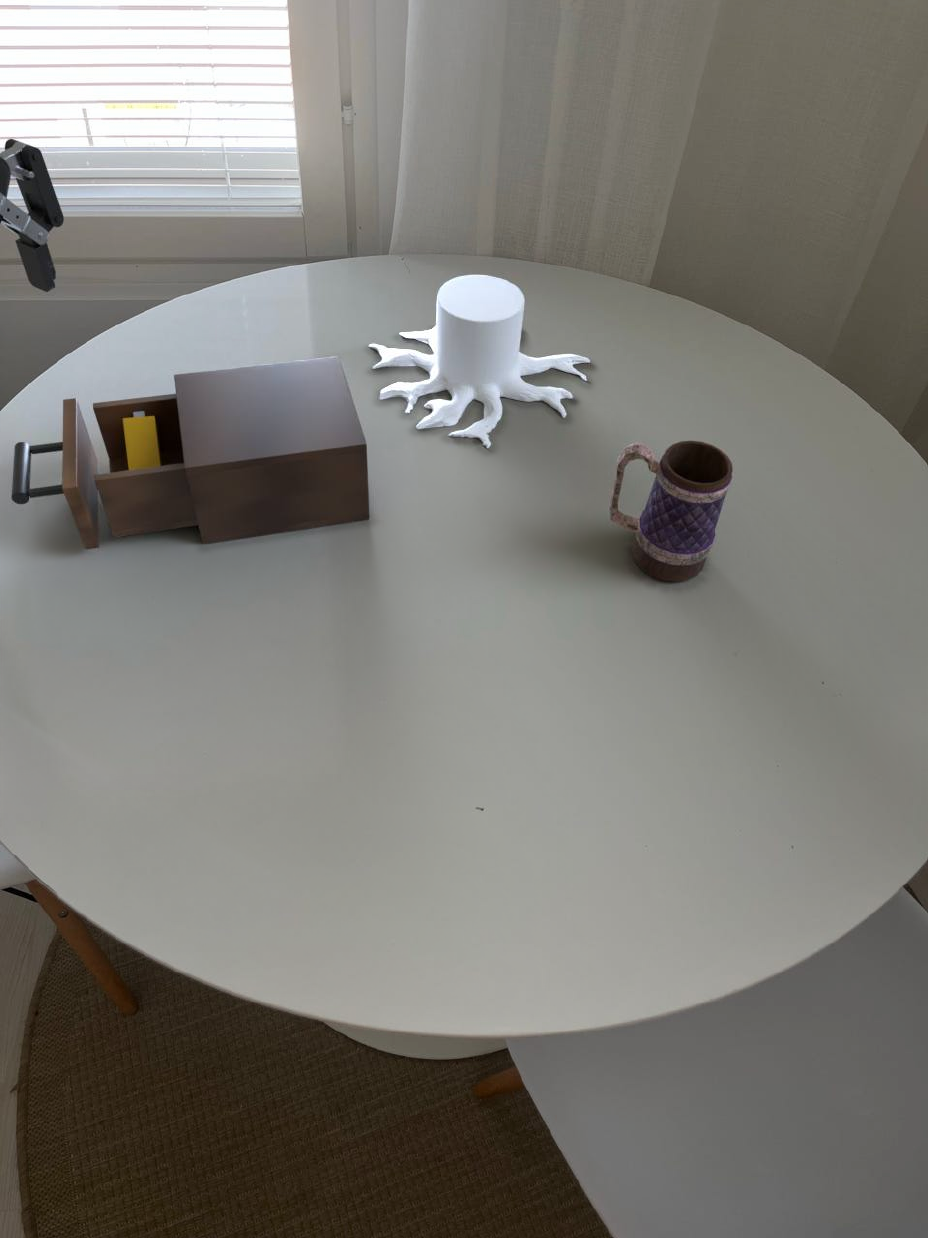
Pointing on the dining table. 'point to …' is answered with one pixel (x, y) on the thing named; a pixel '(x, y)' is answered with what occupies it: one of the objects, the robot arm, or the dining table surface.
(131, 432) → the box cutter
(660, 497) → the mug
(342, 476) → the cabinet
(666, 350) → the dining table surface
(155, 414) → the drawer
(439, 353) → the white tree stump
